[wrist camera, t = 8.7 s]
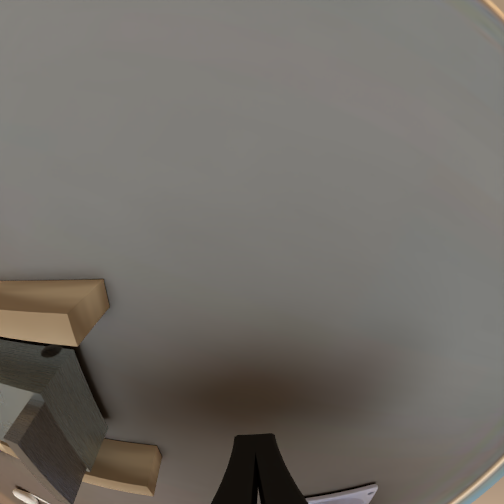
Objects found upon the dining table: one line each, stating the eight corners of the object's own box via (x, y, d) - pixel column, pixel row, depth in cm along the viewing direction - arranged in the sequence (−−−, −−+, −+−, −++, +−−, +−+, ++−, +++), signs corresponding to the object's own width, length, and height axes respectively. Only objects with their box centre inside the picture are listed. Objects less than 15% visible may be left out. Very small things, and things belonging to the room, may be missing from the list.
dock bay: (161, 456, 14) (153, 496, 11) (14, 423, 14) (-2, 449, 11) (103, 279, 11) (67, 314, 8) (-51, 280, 10) (-81, 299, 8)
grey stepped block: (78, 338, 11) (9, 432, 6) (112, 422, 13) (78, 511, 7) (-21, 326, 11) (-82, 381, 5) (14, 400, 13) (-28, 460, 7)
